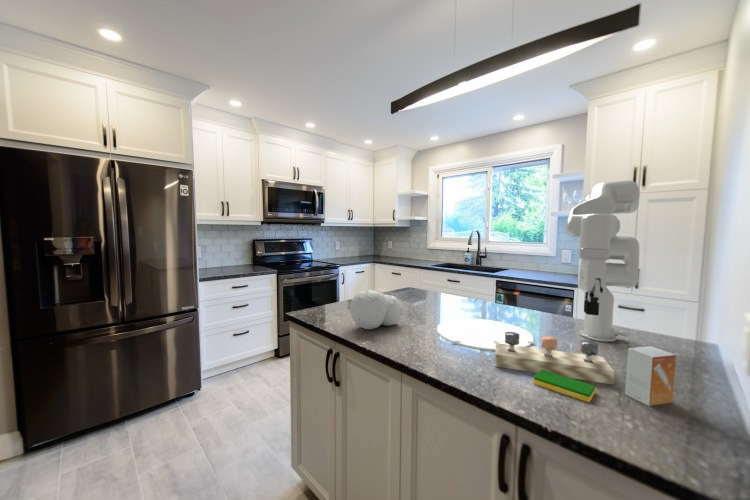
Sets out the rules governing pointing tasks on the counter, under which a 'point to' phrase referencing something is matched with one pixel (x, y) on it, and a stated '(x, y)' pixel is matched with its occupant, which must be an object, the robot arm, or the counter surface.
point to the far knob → (511, 340)
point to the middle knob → (549, 344)
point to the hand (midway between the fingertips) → (591, 313)
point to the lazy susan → (481, 333)
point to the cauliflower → (375, 309)
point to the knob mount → (554, 363)
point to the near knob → (589, 349)
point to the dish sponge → (565, 385)
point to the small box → (650, 375)
